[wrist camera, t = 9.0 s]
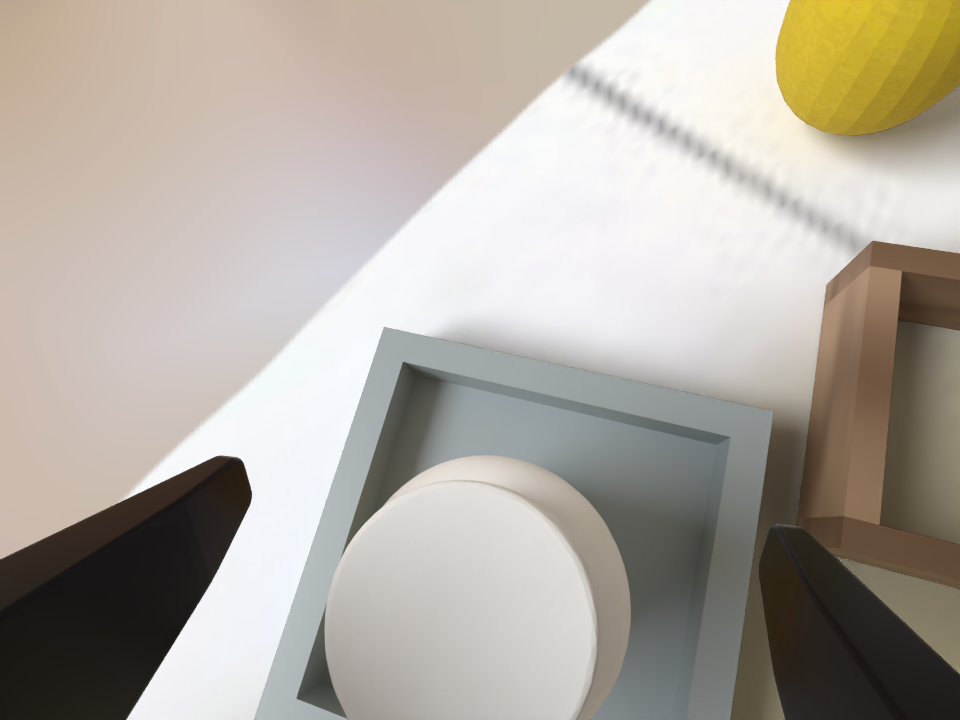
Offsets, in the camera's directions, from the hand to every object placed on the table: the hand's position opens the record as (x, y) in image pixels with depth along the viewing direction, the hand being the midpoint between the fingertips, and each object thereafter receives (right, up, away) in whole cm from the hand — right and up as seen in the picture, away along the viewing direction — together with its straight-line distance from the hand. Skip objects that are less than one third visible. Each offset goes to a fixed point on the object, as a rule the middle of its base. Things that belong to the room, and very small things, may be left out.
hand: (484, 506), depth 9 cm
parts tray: (+1, -4, +8) cm, 9 cm away
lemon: (+13, +11, +11) cm, 20 cm away
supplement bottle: (+1, -4, +8) cm, 9 cm away
